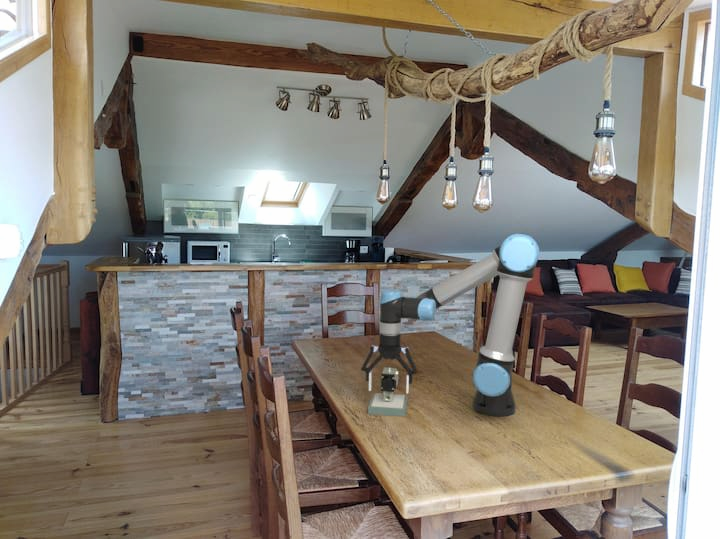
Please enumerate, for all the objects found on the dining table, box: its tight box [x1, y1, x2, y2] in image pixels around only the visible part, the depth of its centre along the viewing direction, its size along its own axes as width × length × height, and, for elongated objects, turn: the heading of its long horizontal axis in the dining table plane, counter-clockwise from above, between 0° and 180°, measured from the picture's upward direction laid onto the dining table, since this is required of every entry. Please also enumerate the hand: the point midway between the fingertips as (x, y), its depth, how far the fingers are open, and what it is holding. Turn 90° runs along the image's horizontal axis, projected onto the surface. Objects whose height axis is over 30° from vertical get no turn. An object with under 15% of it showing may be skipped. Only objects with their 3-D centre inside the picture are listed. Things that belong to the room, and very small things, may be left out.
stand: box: [367, 392, 409, 418], centre depth 187 cm, size 13×15×3 cm
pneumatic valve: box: [380, 366, 400, 402], centre depth 187 cm, size 6×12×12 cm, turn 170°
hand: (388, 391), depth 187 cm, fingers open, 13 cm apart
